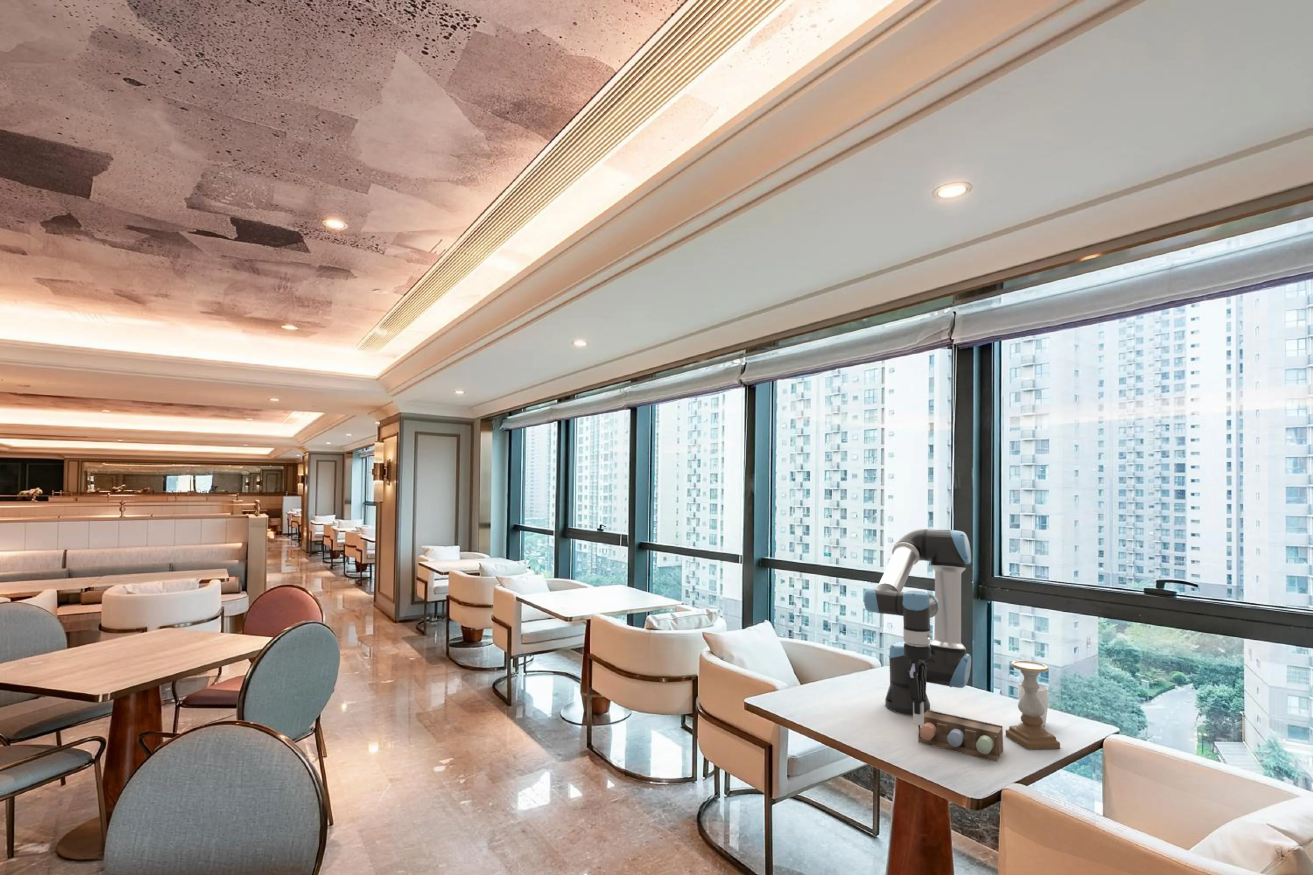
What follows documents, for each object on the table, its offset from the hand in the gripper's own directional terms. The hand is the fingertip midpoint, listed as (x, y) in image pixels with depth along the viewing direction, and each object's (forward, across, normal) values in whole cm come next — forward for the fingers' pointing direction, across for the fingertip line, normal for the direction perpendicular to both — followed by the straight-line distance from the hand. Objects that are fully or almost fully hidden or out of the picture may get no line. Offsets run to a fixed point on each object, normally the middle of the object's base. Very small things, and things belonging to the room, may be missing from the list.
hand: (918, 723), depth 190 cm
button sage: (+7, +10, -16) cm, 20 cm away
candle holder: (+9, +33, -25) cm, 42 cm away
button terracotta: (+7, +10, 0) cm, 12 cm away
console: (+9, +15, -8) cm, 19 cm away
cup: (+9, +52, -23) cm, 57 cm away
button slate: (+7, +10, -8) cm, 14 cm away
